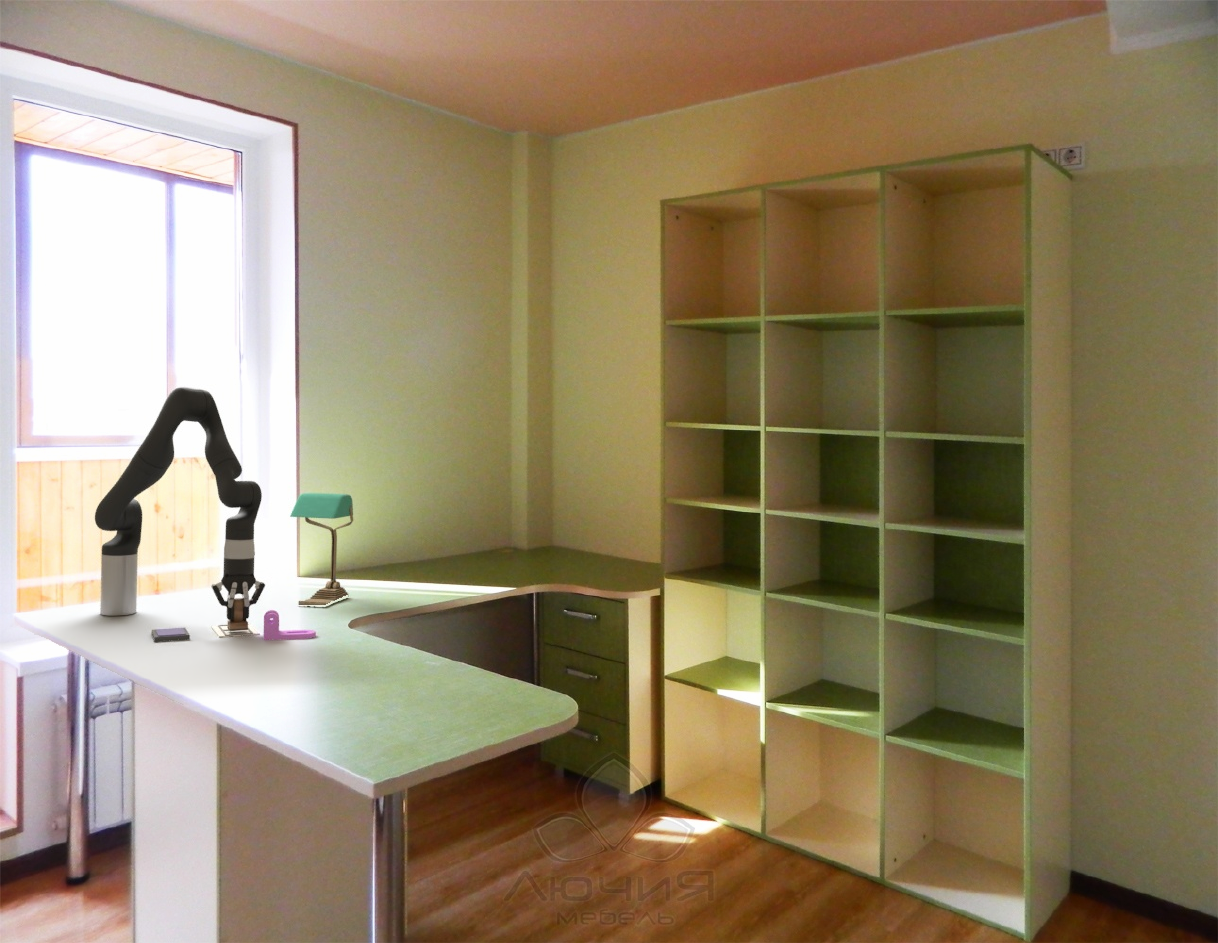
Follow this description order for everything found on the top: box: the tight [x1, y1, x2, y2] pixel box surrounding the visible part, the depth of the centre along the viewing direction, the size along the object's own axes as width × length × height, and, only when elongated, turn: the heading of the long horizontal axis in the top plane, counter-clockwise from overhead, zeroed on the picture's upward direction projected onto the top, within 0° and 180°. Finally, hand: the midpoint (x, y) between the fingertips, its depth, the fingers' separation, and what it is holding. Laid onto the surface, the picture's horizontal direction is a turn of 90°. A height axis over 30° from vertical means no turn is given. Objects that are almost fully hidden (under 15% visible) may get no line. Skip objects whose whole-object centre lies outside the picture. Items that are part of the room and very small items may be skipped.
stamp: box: [226, 597, 249, 631], centre depth 243 cm, size 4×4×8 cm
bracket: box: [263, 609, 317, 641], centre depth 241 cm, size 13×6×7 cm, turn 111°
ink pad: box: [151, 627, 191, 643], centre depth 237 cm, size 10×8×1 cm
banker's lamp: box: [289, 492, 354, 605], centre depth 293 cm, size 16×21×35 cm
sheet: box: [210, 623, 260, 638], centre depth 247 cm, size 14×10×1 cm
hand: (237, 620), depth 243 cm, fingers closed on stamp, 2 cm apart
